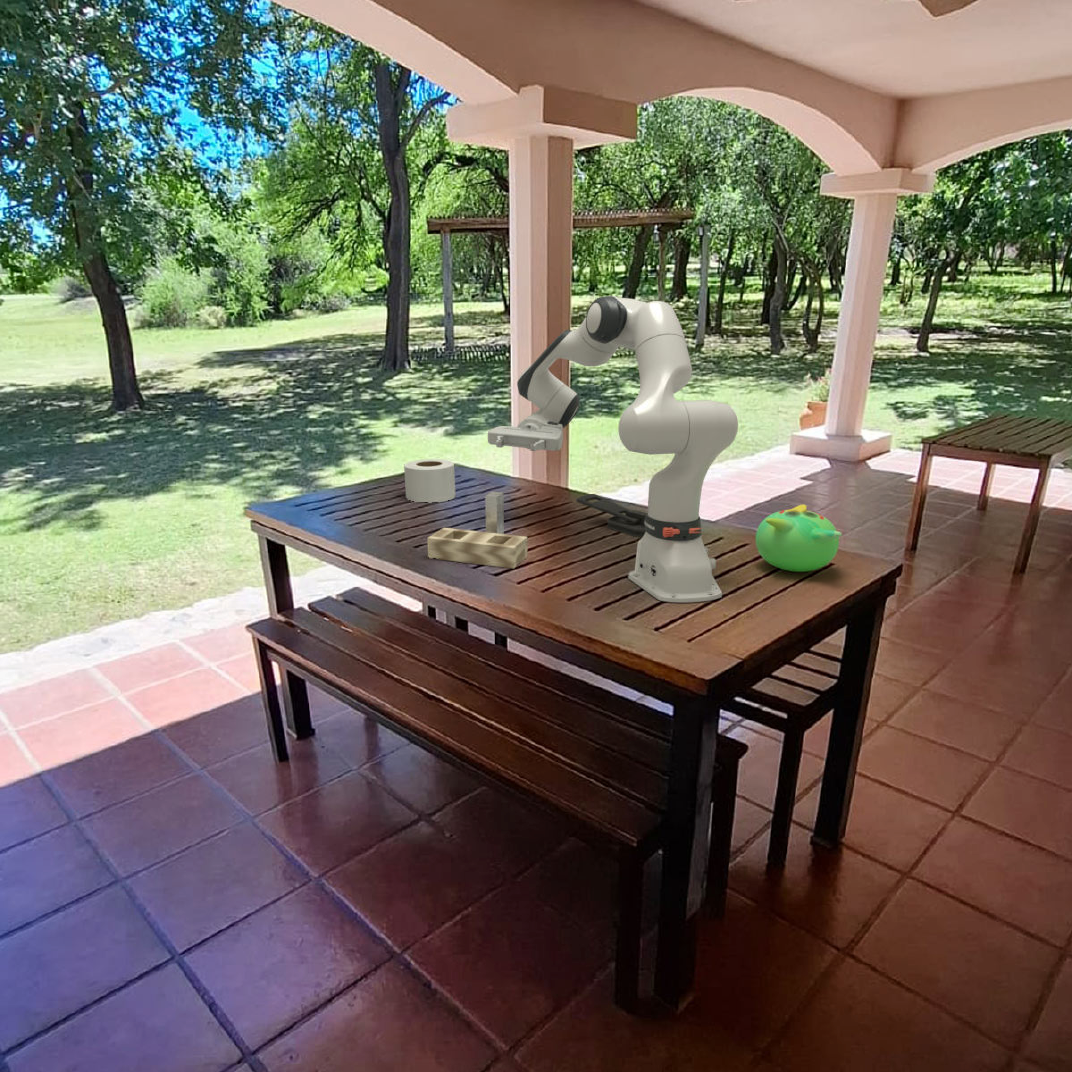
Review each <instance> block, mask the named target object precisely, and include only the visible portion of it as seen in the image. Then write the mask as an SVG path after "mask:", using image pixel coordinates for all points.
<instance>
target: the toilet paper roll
mask: <svg viewBox="0 0 1072 1072" xmlns="http://www.w3.org/2000/svg"><path fill="white" fill-rule="evenodd" d="M403 468H404V469H403V470H404V486H405V487H404V488H405V499H406V498H407V499H408V500H407V499H406V500H407V501H409V500H411V501H410V502H412V501H414V502H413V503H416V502H428V503H427V504H433V503H432V502H438V503H444V502H448V500H449V501H451V500H453V499H455V498H456V476H455V474H456V473H455V463H454V461H451V460H447V459H439V458H438V459H435V458H433V459H419V460H413V461H408V462H407V463H404V464H403Z"/></svg>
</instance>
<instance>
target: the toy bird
mask: <svg viewBox="0 0 1072 1072" xmlns="http://www.w3.org/2000/svg"><path fill="white" fill-rule="evenodd" d="M807 507H808V506H807V505H806V504H799V505H797V506H795V507H793V508H791V509H782V510H780V511H776V512H773V513H771V514H770V515H768V516H767V517H765V518H764V519H763V520H762V521H761V522H760V524H759V525H758V527H757V530H756V533H755V547H756V548H757V551H758V553H759V555H760V556H761V557H762V559H763V560H764V561H766V563H768V564H770V565H771V566H774V567H776V568H779V569H781V570H784V571H787V572H788V571H789V572H795V573H797V572H798V573H801V572H804V573H805V572H812V571H817V570H819V569H821V568H823V567H825V566H827V565H828V564H829V563H830V562H831V561H832V560H833V559H834V558H835V556H836V555H837V553H838V549H839V546H840V538H841V537H842V536H843V535H842V534H843V533H842V532H841V531H837V529H836V527H835V525H834V524H833V522H831V521H830V520H829V519H828V518H827V517H825V516H823V515H821V514H820V513H817V512H814V511H811V510H807Z"/></svg>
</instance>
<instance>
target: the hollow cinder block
mask: <svg viewBox="0 0 1072 1072" xmlns="http://www.w3.org/2000/svg"><path fill="white" fill-rule="evenodd" d="M426 541H427V558H428V557H429V558H428V559H433V558H436V559H435V560H441V561H442V560H443V561H449V562H450V561H452V562H459V563H466V564H467V563H468V564H475V565H483V566H490V567H491V566H492V567H498V568H505V569H506V568H507V569H515V568H516V567H518V566H519V563H522V562H523V561H524V560H526V559H527V558H528V536H523V535H515V534H505V533H504V534H497V533H488V532H486V531H478V530H469V529H459V528H453V527H452V528H451V527H442V528H441V529H440V530H438V531H436V532H434V533H433V534H431V535H429V536H428V537H427V539H426Z"/></svg>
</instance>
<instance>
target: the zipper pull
mask: <svg viewBox="0 0 1072 1072" xmlns="http://www.w3.org/2000/svg"><path fill="white" fill-rule="evenodd" d="M595 500H597V501H595ZM575 501H576V502H577V503H579V504H582V505H583V506H587V507H589V508H593V509H595V510H597V511H601V512H604V513H606V514H609V515H611V517H608V520H607V529H609V530H612V531H616V532H619V533H622V534H626V535H628V536H631V537H635V538H642V537H643V536H644V534H645V532H646V531H645V517H646V514H647V513H648V512H644V511H639V510H635V509H629V508H626V507H624V506H622V505H621V504H620V505H619V504H618V503H616V502H613V501H611V500H609V499H606V498H604V497H602V496H600V495H598V494H595V493H589V494H584V495H581V496H579V497H578V498H576V499H575ZM591 501H593V502H591Z"/></svg>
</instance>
